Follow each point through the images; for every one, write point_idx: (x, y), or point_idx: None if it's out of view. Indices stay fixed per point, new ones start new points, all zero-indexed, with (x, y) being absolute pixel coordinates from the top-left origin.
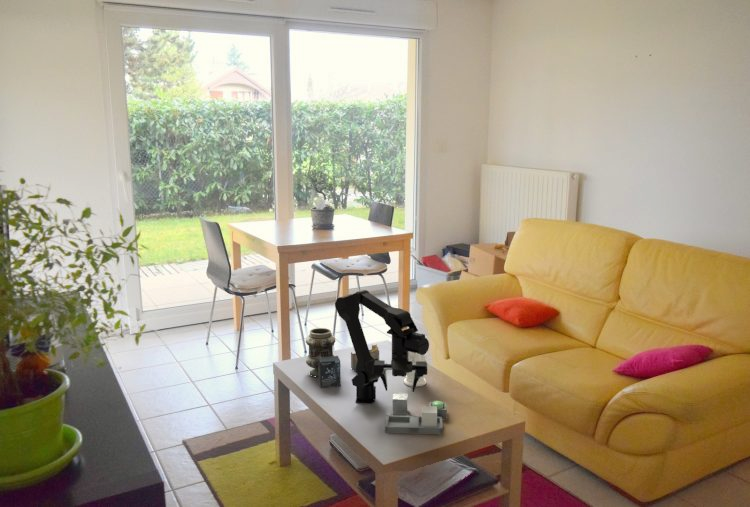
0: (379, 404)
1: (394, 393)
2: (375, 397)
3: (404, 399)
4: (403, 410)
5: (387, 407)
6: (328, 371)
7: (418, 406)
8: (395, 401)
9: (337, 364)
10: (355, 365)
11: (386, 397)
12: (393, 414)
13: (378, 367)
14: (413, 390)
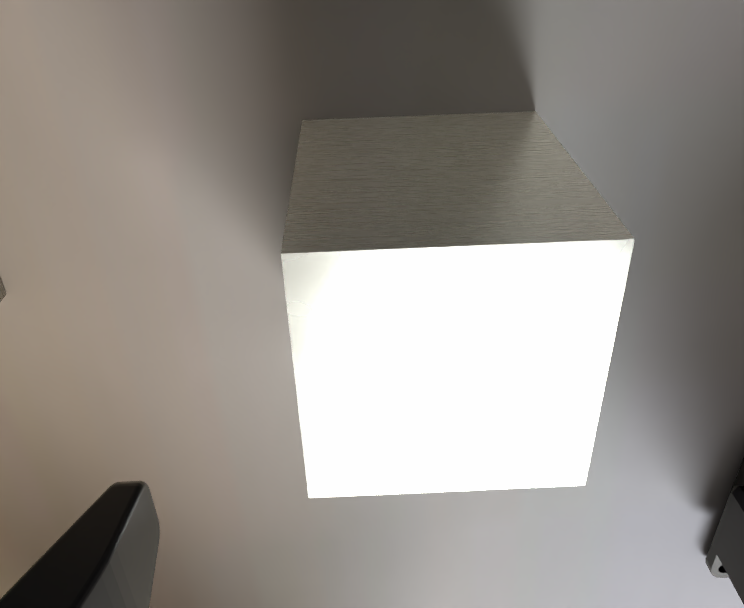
0: (682, 407)
1: (561, 485)
2: (731, 515)
3: (348, 263)
4: (363, 150)
5: None
6: None
7: (185, 407)
8: (551, 220)
9: None
10: None
11: (577, 551)
12: (525, 118)
13: None
14: (111, 502)
